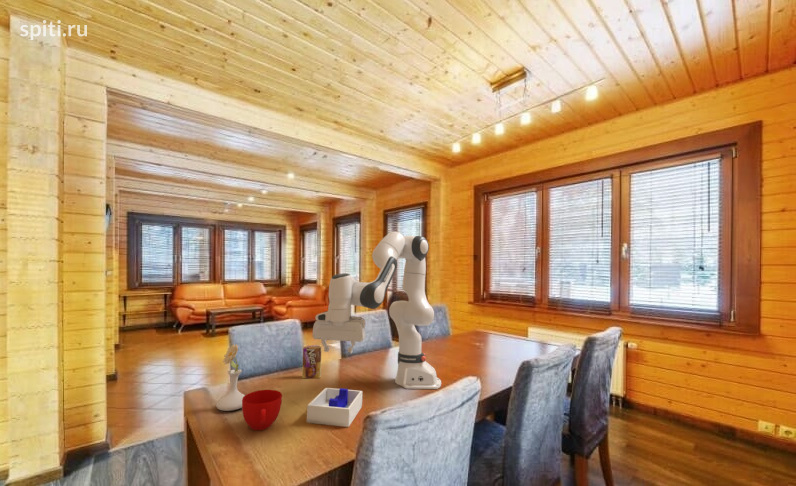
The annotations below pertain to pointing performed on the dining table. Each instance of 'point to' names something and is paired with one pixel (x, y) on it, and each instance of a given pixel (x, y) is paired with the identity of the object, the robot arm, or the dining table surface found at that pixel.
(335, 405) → the blue curved block
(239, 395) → the flower in vase
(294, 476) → the dining table surface
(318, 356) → the candy box
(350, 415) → the walled box
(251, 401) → the ceramic cup
